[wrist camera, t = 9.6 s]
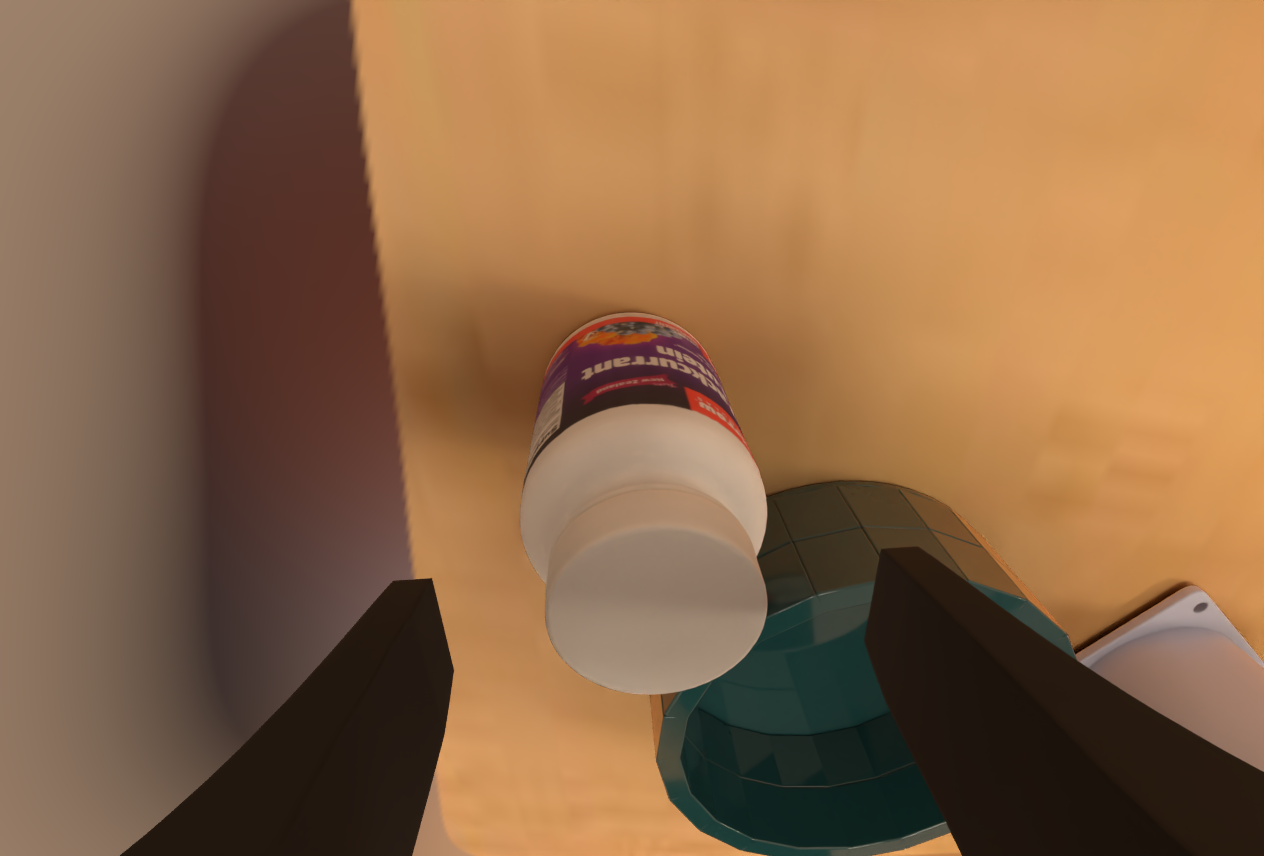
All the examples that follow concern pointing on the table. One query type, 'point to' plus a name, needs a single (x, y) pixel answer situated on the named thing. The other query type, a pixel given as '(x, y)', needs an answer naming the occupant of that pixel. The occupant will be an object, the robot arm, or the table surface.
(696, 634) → the pill bottle
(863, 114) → the table surface
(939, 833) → the pot
